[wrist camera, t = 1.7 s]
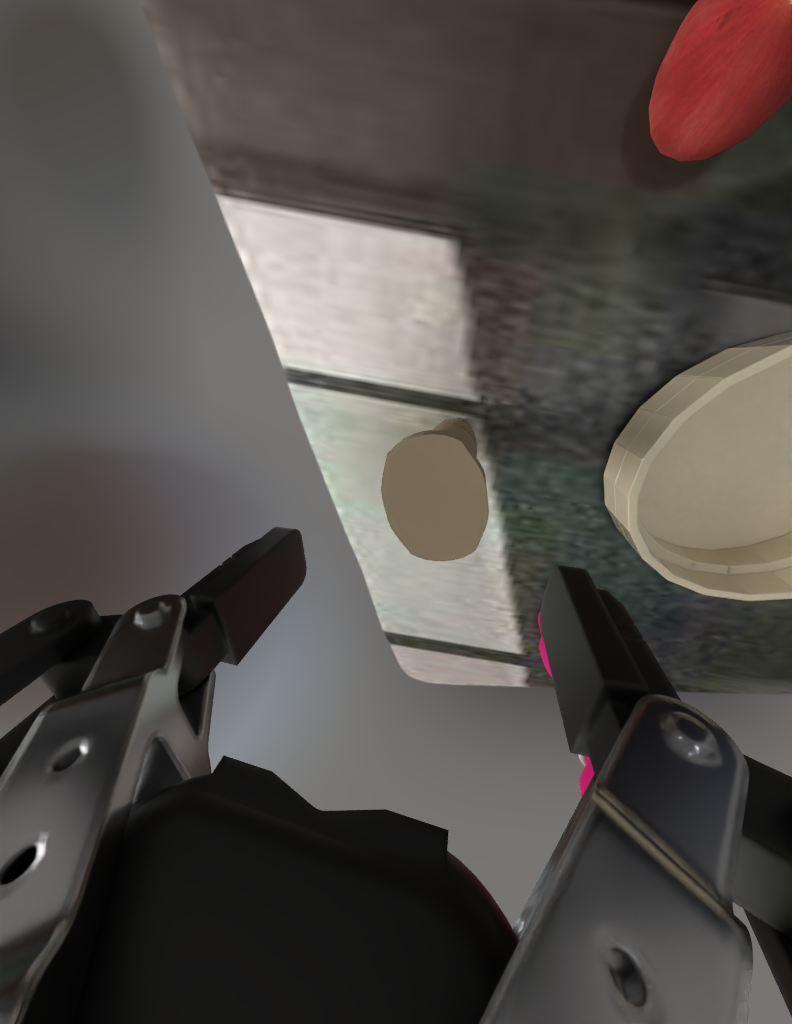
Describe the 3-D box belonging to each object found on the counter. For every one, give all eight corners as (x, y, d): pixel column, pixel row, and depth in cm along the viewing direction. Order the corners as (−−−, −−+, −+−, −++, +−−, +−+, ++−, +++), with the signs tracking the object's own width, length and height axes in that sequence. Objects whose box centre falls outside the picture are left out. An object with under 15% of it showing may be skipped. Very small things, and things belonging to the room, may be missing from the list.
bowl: (643, 336, 21) (692, 328, 16) (985, 331, 17) (1180, 319, 12) (576, 543, 29) (596, 579, 24) (802, 570, 25) (878, 620, 20)
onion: (682, 13, 15) (854, -282, 8) (787, 59, 15) (1054, -204, 8) (600, 169, 18) (677, 48, 11) (688, 208, 18) (822, 110, 11)
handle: (478, 392, 25) (479, 425, 12) (486, 465, 27) (493, 558, 14) (422, 404, 26) (368, 444, 13) (434, 472, 29) (398, 562, 16)
